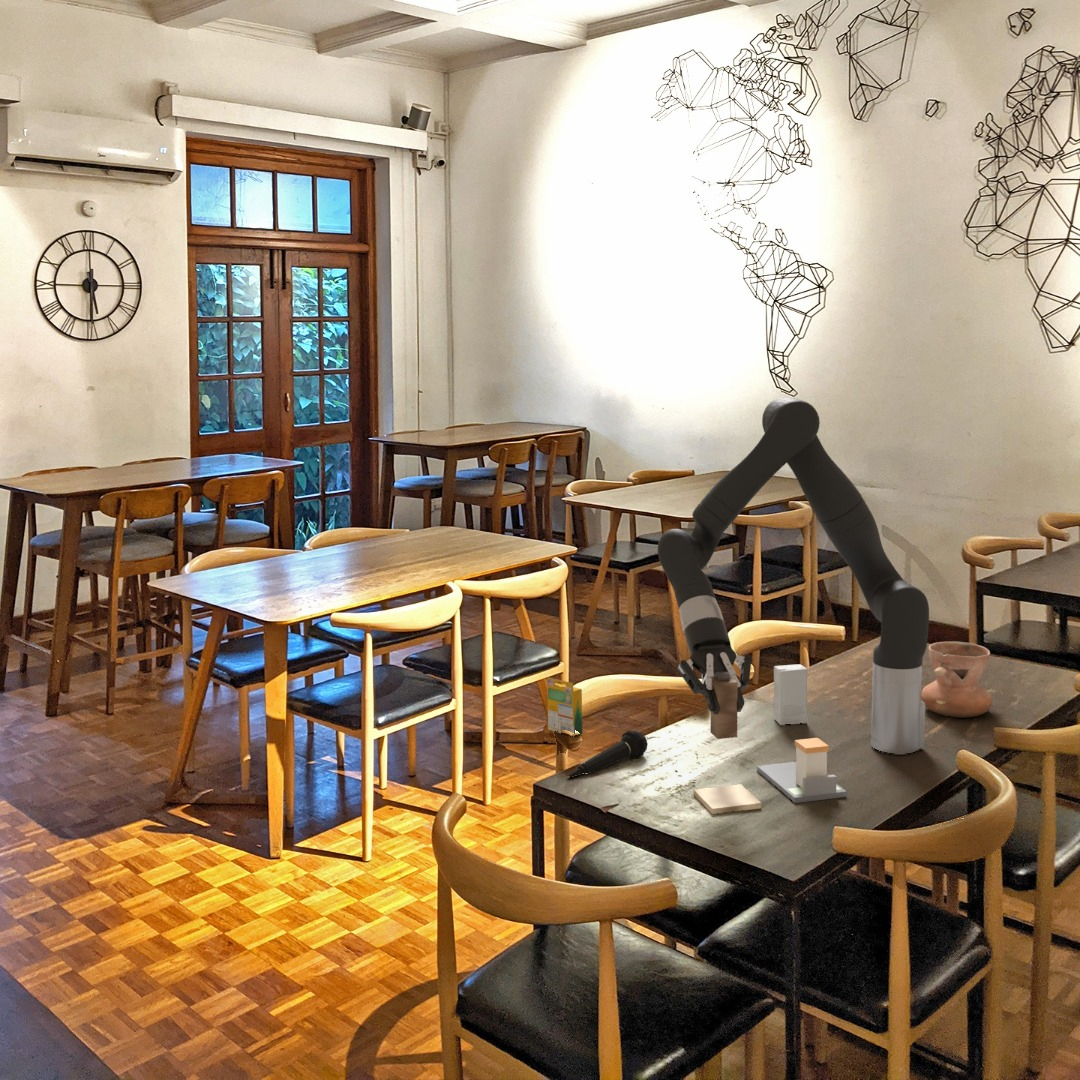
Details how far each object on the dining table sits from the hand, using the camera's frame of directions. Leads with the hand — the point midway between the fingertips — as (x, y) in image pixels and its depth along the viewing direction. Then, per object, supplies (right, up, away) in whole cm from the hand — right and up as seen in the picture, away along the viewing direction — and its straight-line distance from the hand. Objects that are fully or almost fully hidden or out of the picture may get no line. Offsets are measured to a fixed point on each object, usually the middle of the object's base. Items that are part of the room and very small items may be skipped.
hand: (728, 710), depth 205 cm
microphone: (-20, -14, +23) cm, 34 cm away
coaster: (0, -17, +4) cm, 17 cm away
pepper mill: (0, -5, +3) cm, 5 cm away
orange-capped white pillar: (+16, -14, +7) cm, 23 cm away
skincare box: (+20, -9, +45) cm, 50 cm away
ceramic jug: (+57, -8, +49) cm, 76 cm away
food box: (-27, -11, +42) cm, 51 cm away
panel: (+15, -15, +11) cm, 24 cm away
